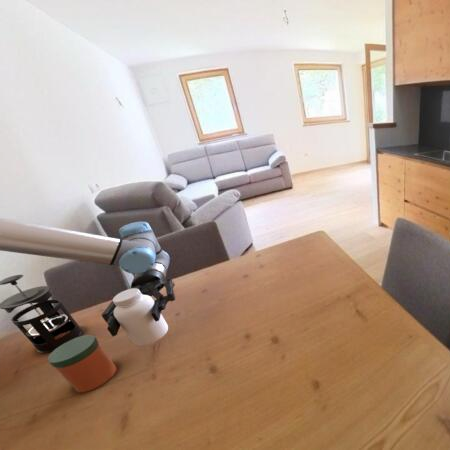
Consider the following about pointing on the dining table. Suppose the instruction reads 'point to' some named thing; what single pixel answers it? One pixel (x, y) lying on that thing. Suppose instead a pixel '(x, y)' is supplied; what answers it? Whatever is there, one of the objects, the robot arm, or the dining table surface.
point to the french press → (41, 317)
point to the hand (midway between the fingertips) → (134, 324)
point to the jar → (89, 371)
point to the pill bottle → (138, 317)
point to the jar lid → (73, 351)
